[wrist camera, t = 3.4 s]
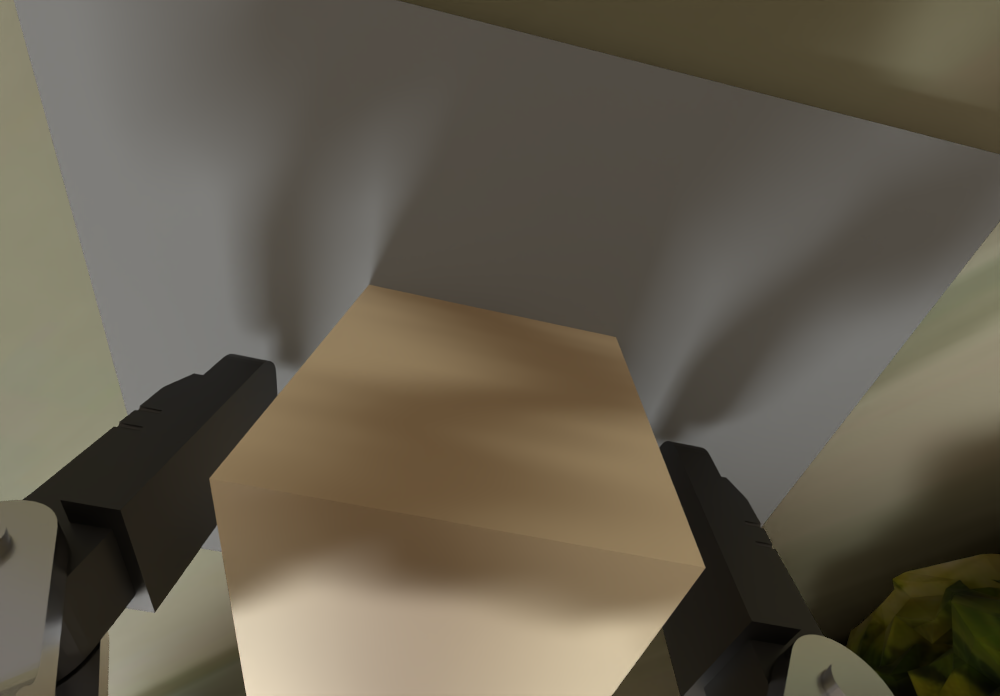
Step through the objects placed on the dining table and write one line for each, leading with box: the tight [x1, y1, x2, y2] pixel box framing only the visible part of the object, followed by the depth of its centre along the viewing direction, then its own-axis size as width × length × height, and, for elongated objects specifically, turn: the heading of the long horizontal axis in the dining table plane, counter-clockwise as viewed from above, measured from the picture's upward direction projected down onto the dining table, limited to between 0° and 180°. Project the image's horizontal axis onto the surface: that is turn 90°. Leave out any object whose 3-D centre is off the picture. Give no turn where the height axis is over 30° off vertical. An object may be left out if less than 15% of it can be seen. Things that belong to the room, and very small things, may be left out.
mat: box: [14, 0, 1000, 552], centre depth 10 cm, size 16×14×1 cm
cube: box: [209, 285, 706, 696], centre depth 8 cm, size 5×5×5 cm
